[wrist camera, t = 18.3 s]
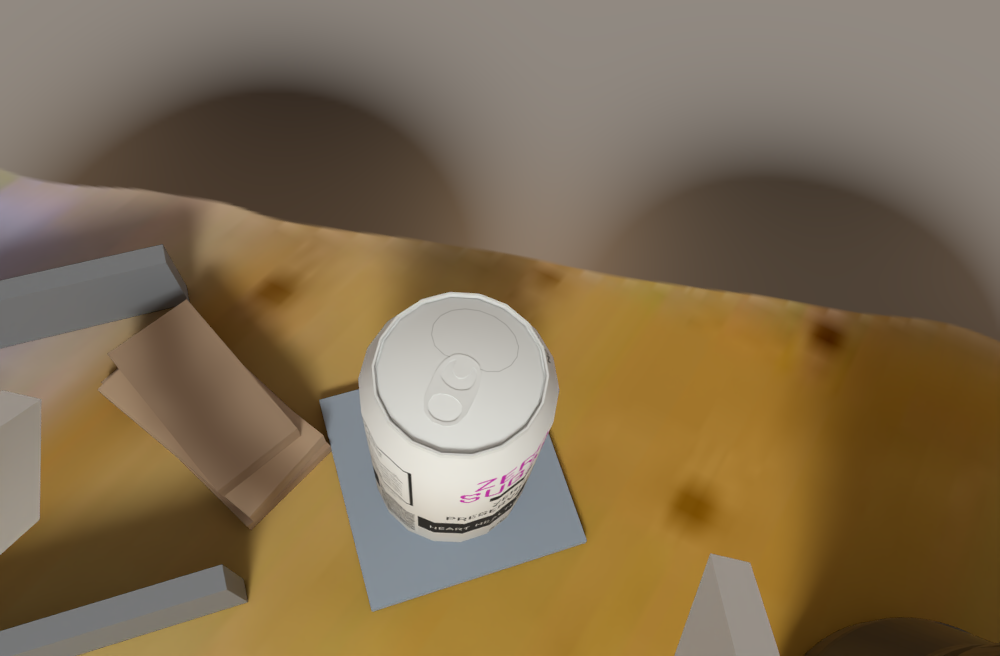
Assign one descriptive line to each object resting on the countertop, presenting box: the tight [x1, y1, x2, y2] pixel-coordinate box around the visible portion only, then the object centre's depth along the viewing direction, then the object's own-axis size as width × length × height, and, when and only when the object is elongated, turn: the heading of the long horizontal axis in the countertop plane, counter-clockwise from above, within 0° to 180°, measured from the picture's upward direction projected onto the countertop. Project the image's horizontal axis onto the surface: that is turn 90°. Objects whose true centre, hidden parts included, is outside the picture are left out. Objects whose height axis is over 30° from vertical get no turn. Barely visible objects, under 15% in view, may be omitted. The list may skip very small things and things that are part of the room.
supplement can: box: [358, 292, 559, 542], centre depth 39 cm, size 8×8×15 cm
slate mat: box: [319, 389, 587, 612], centre depth 47 cm, size 12×12×1 cm
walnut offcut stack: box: [97, 299, 332, 530], centre depth 46 cm, size 7×12×4 cm, turn 49°
